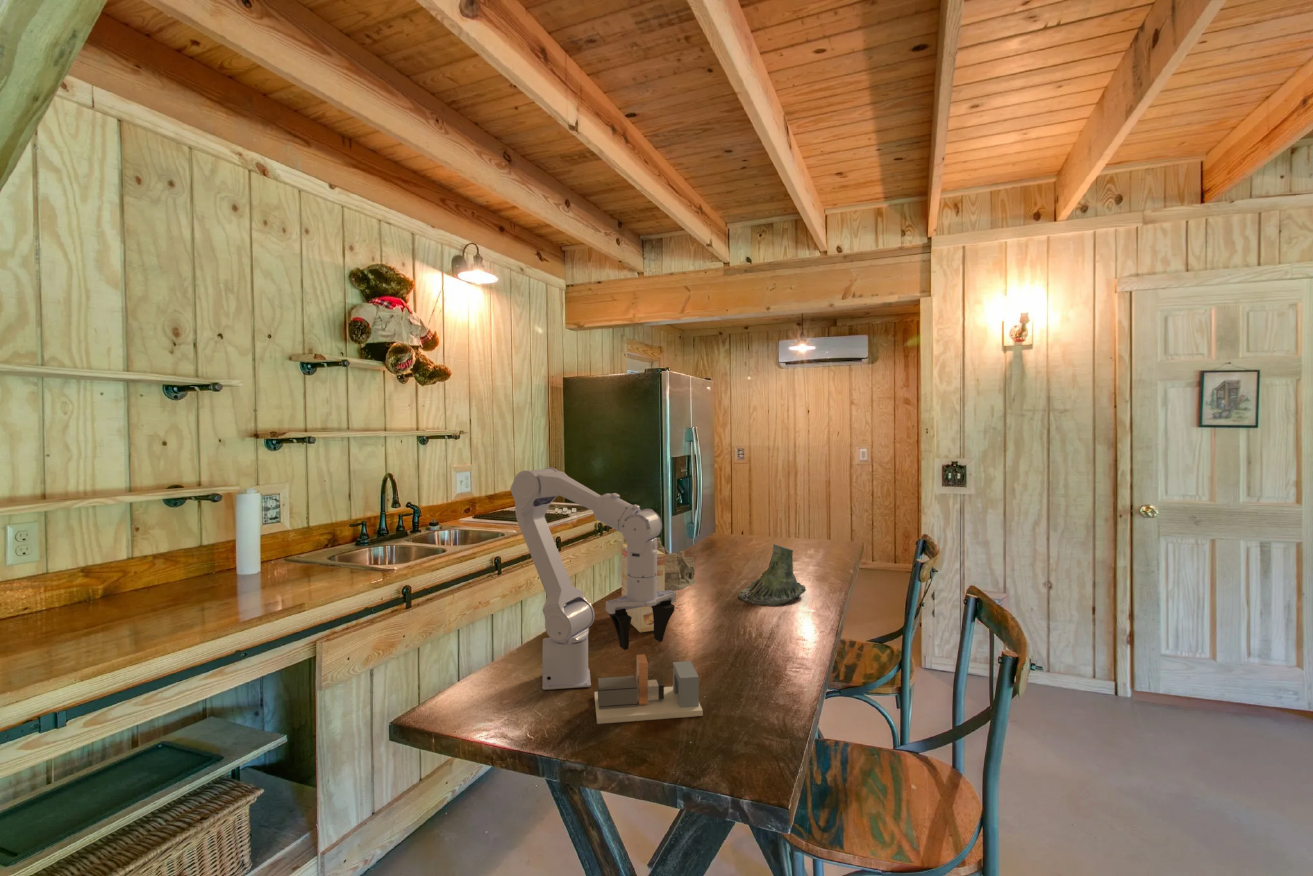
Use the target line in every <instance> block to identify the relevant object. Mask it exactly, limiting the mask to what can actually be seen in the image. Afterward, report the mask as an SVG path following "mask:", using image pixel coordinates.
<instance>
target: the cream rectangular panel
mask: <svg viewBox="0 0 1313 876" xmlns="http://www.w3.org/2000/svg"><path fill="white" fill-rule="evenodd" d="M636 687H638V685H637V677H636V675H625V676H610V677H597V691H593V692H594V697H593V698H594V703H595V704H594V706H595V716H596V724H597V725H603V724H612V723H627V722H639V721H640V722H641V721H653V720H665V719H675V718H677V719H678V718H690V717H691V718H693V717H702V716H704V715H703V714H704V713H703V707H702V705H701V704H700V702H699V706H698V707H684V708H680V707H679V704H678V694H674V691H673V686H664V699H661V700H648V704H640V705H639V702H638V701H637V695H638V688H636ZM607 689H608V690H607Z"/></svg>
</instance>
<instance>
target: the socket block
mask: <svg viewBox="0 0 1313 876" xmlns="http://www.w3.org/2000/svg"><path fill="white" fill-rule="evenodd" d="M699 683H700V676H699V674H698V673H697V671H696V669H695V667H694V665H693V662H692V661H691V660H686V661H673V662H672V687H673V691H674V694H678V704H679V707H680V708H684V707H698V706H699V703H700V700H699V699H700V698H699V696H700V685H699Z"/></svg>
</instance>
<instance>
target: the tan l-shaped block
mask: <svg viewBox="0 0 1313 876" xmlns="http://www.w3.org/2000/svg"><path fill="white" fill-rule="evenodd" d="M648 670H649V662H648V659H647V656H646V654H645V653H642V654H636V681H637V685H638V687H636V688H638V695H637V701H638V702H639V705H640V704H648V700H661V699H664V687H665V685H664V682H663V679H662V678H660V679H649V671H648ZM607 690H608V689H607Z"/></svg>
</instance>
